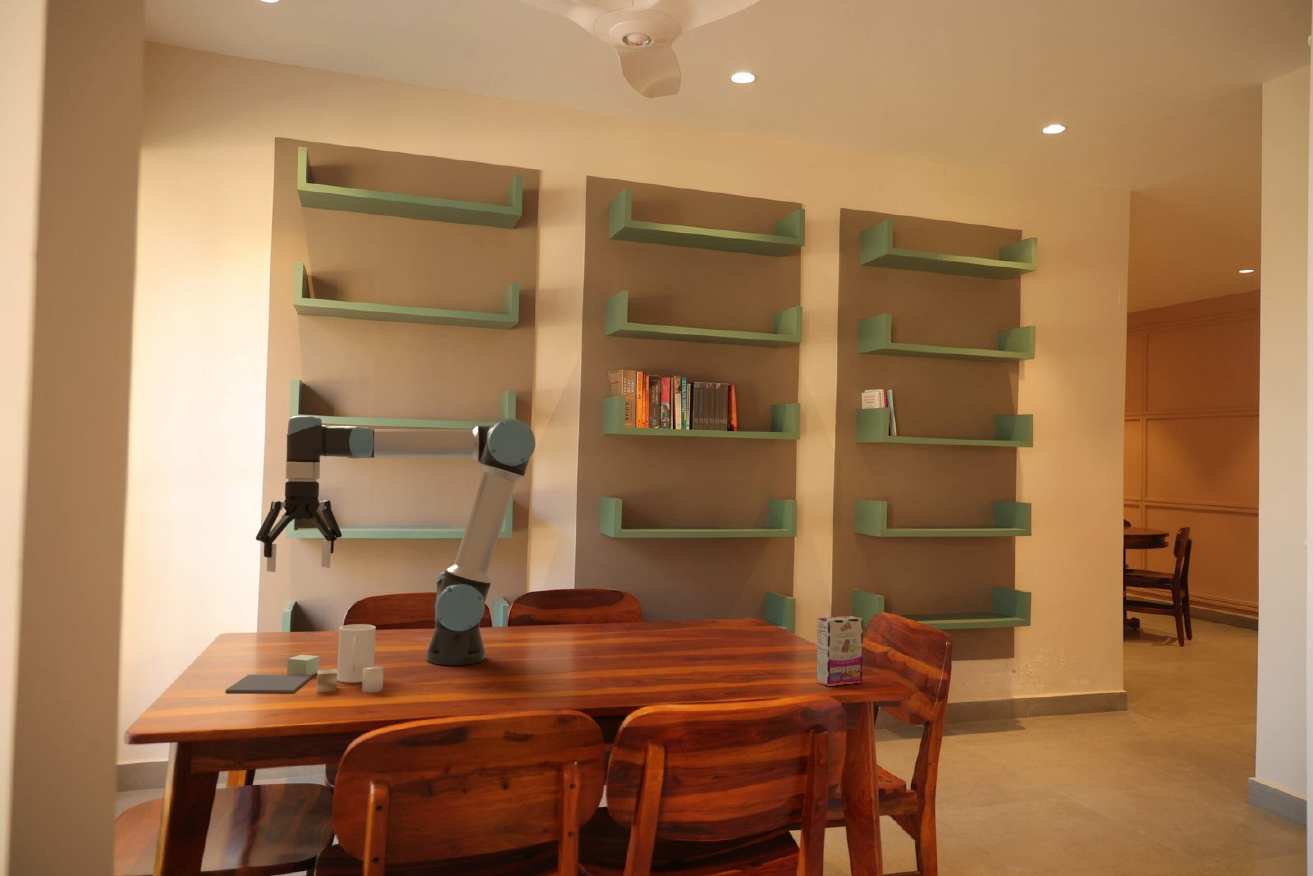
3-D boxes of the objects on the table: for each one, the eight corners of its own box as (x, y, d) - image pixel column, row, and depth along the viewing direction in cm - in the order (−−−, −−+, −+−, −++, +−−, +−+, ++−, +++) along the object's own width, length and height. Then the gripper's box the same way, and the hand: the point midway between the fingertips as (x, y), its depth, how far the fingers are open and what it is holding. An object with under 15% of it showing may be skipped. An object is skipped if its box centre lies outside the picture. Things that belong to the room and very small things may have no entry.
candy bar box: (849, 679, 215) (851, 615, 215) (862, 684, 210) (864, 618, 211) (814, 682, 209) (816, 617, 210) (827, 687, 205) (829, 620, 206)
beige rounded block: (384, 687, 189) (385, 665, 189) (380, 692, 184) (381, 669, 185) (364, 687, 188) (365, 665, 188) (359, 692, 184) (361, 669, 184)
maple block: (335, 687, 188) (336, 669, 188) (336, 691, 184) (337, 673, 185) (316, 688, 187) (317, 670, 187) (316, 692, 183) (317, 674, 183)
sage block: (318, 673, 201) (319, 656, 201) (305, 677, 196) (306, 660, 196) (300, 671, 202) (301, 654, 202) (286, 675, 197) (287, 658, 197)
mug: (368, 686, 189) (371, 633, 190) (328, 686, 188) (331, 632, 189) (376, 674, 201) (379, 624, 202) (339, 674, 200) (342, 623, 200)
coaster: (311, 677, 195) (311, 675, 195) (293, 693, 181) (293, 690, 181) (248, 677, 193) (248, 674, 193) (225, 692, 179) (225, 689, 179)
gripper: (341, 480, 212) (338, 564, 211) (242, 479, 193) (238, 572, 192) (358, 481, 207) (355, 566, 206) (258, 480, 188) (254, 574, 187)
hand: (299, 569), depth 199 cm, fingers open, 13 cm apart
